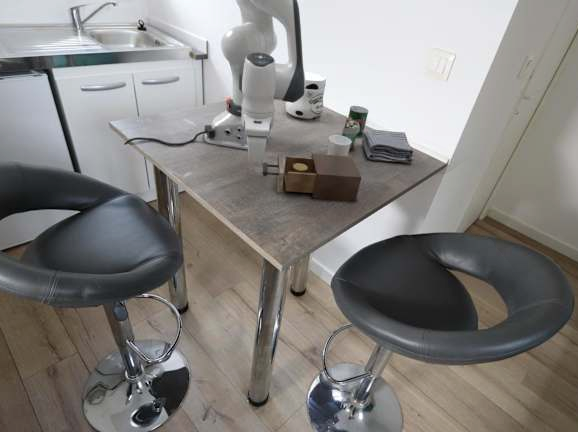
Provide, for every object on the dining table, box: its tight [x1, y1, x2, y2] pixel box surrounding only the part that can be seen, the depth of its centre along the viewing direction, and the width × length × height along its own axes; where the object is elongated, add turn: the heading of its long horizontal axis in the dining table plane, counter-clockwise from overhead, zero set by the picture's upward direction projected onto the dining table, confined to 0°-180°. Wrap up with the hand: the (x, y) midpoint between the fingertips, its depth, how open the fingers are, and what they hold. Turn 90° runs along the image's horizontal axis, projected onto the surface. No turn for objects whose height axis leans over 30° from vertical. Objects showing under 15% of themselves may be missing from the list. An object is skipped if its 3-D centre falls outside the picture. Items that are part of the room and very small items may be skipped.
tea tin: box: [292, 163, 308, 173], centre depth 108 cm, size 4×4×5 cm
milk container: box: [285, 70, 327, 121], centre depth 158 cm, size 17×17×18 cm
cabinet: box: [310, 153, 362, 202], centre depth 110 cm, size 13×13×8 cm
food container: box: [341, 117, 360, 152], centre depth 137 cm, size 12×6×10 cm, turn 168°
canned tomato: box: [347, 105, 369, 138], centre depth 150 cm, size 8×8×11 cm
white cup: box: [326, 134, 351, 157], centre depth 123 cm, size 8×8×10 cm
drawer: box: [262, 153, 317, 194], centre depth 108 cm, size 17×12×7 cm
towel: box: [361, 129, 414, 164], centre depth 137 cm, size 15×18×8 cm
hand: (255, 163), depth 104 cm, fingers closed
